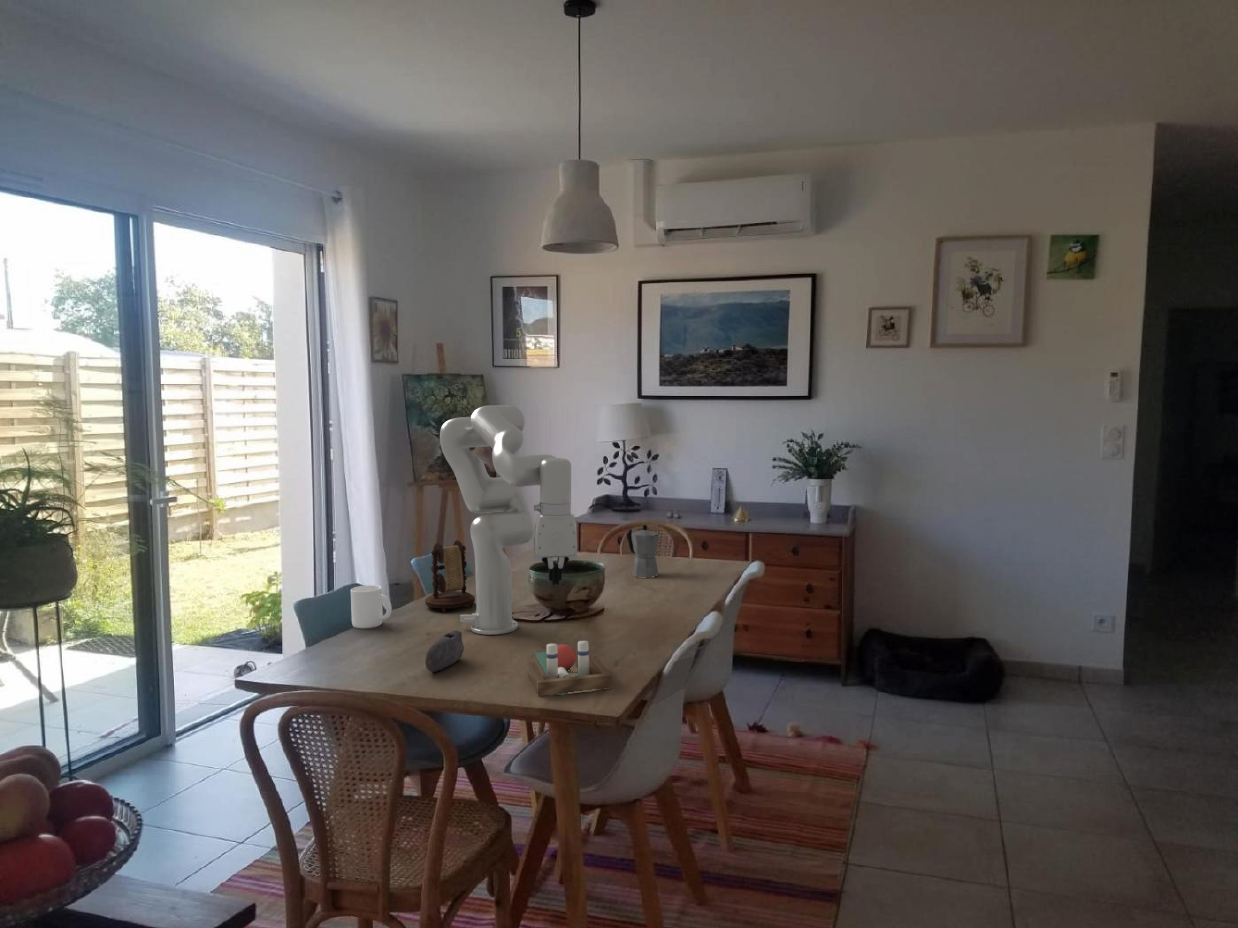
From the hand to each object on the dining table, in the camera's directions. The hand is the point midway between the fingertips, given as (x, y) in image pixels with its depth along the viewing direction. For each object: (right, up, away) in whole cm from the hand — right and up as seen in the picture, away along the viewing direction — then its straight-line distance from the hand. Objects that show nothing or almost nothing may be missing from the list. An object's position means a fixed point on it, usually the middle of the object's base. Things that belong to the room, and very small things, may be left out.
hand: (554, 583), depth 203 cm
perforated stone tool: (-26, -19, -7) cm, 33 cm away
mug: (-53, -16, +28) cm, 62 cm away
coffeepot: (+24, -10, +88) cm, 92 cm away
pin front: (+3, -18, -16) cm, 24 cm away
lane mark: (+3, -19, -12) cm, 22 cm away
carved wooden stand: (-35, -14, +48) cm, 61 cm away
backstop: (+5, -19, -19) cm, 28 cm away
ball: (+3, -15, -12) cm, 20 cm away
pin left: (+1, -19, -20) cm, 27 cm away
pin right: (+8, -19, -18) cm, 27 cm away
